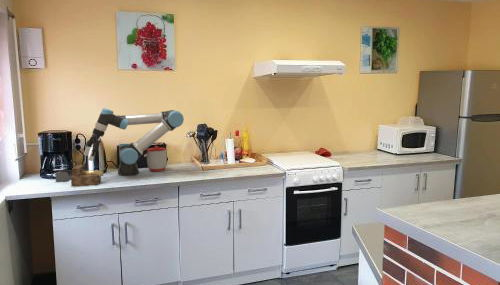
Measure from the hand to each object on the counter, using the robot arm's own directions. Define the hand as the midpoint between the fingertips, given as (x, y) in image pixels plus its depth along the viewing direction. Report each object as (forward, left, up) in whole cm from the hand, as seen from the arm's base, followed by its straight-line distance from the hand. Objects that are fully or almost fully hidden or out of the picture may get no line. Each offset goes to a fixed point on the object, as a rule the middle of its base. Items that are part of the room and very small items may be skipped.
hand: (87, 157), depth 256 cm
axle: (-3, +8, -10) cm, 13 cm away
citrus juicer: (-44, -25, -17) cm, 54 cm away
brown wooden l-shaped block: (0, +8, -17) cm, 18 cm away
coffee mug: (+21, -26, -17) cm, 38 cm away
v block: (+18, -5, -17) cm, 25 cm away
